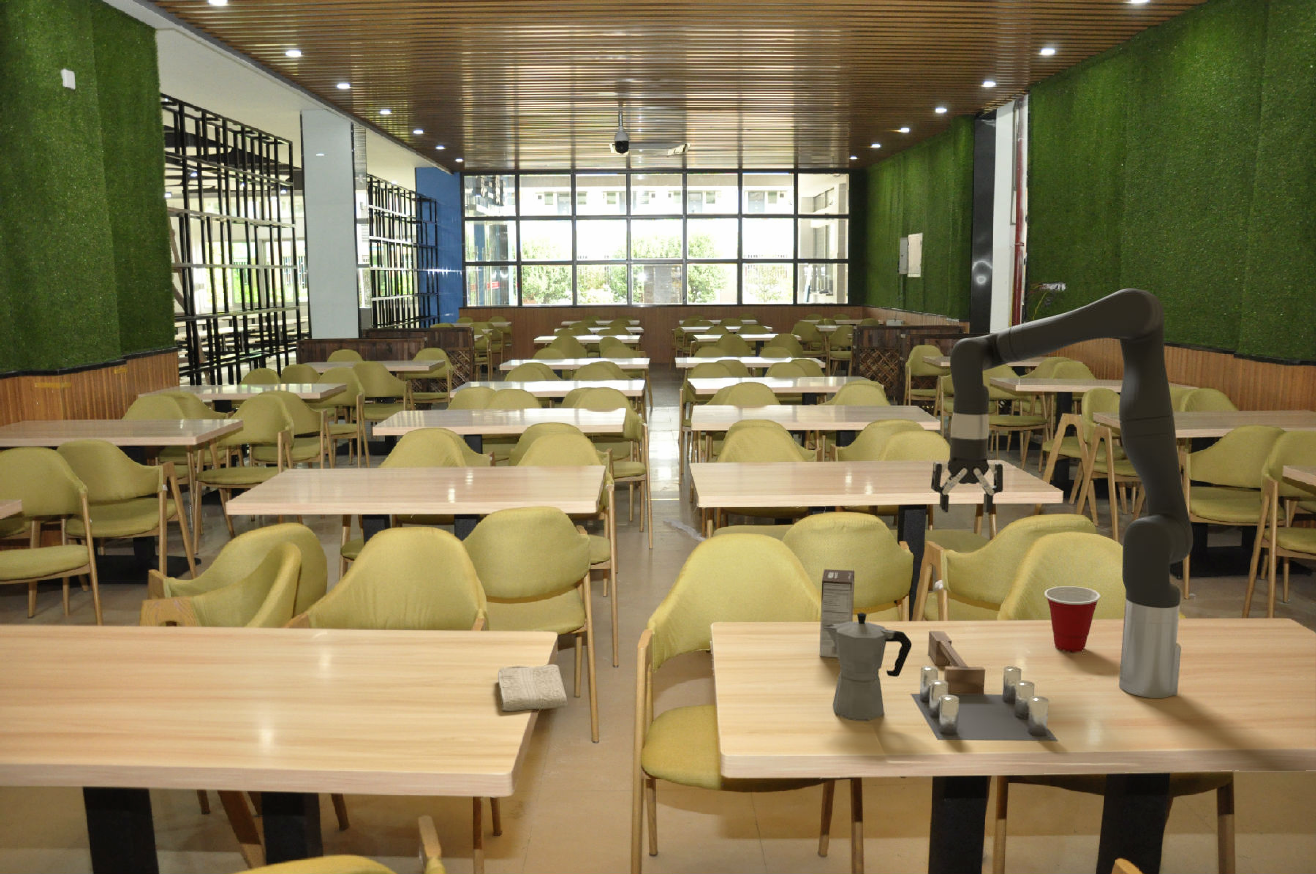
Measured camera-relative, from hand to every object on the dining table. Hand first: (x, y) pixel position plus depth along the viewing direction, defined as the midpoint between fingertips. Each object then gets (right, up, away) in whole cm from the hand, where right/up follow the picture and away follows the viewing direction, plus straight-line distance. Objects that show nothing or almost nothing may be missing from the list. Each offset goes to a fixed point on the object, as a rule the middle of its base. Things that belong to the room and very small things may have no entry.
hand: (965, 512), depth 226 cm
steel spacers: (-7, -34, -35) cm, 49 cm away
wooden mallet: (-7, -30, -14) cm, 35 cm away
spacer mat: (-7, -34, -35) cm, 49 cm away
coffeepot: (-27, -33, -33) cm, 54 cm away
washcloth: (-87, -32, -25) cm, 96 cm away
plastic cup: (+22, -29, +1) cm, 36 cm away
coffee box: (-27, -29, -2) cm, 40 cm away
